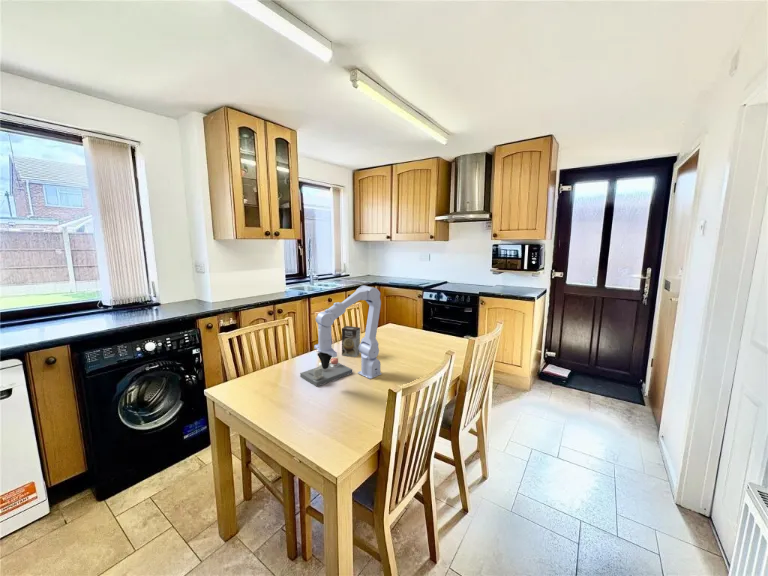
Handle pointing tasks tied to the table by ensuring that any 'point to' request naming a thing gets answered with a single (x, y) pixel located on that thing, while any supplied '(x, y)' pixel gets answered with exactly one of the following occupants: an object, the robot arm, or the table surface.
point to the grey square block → (318, 374)
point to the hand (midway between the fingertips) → (325, 368)
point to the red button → (334, 361)
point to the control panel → (327, 374)
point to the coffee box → (350, 341)
